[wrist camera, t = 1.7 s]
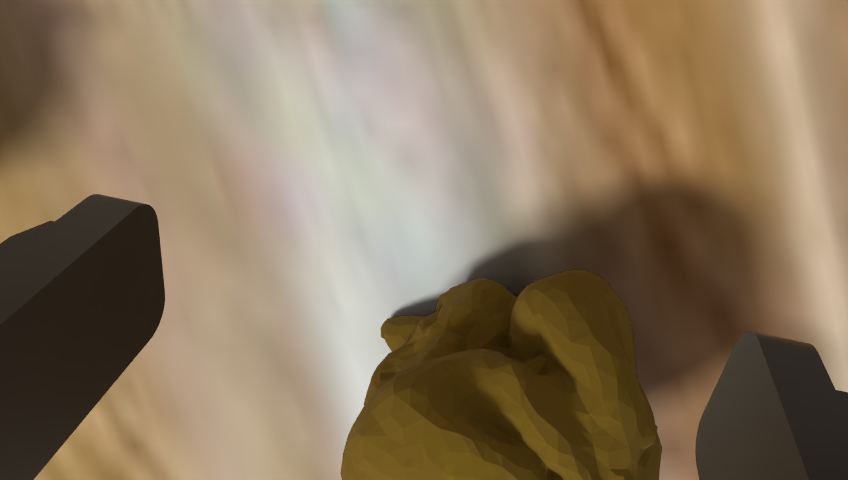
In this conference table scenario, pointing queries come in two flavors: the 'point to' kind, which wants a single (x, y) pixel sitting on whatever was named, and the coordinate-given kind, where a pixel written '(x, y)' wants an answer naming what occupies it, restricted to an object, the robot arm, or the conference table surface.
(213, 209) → the conference table surface
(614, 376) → the gourd
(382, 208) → the conference table surface
